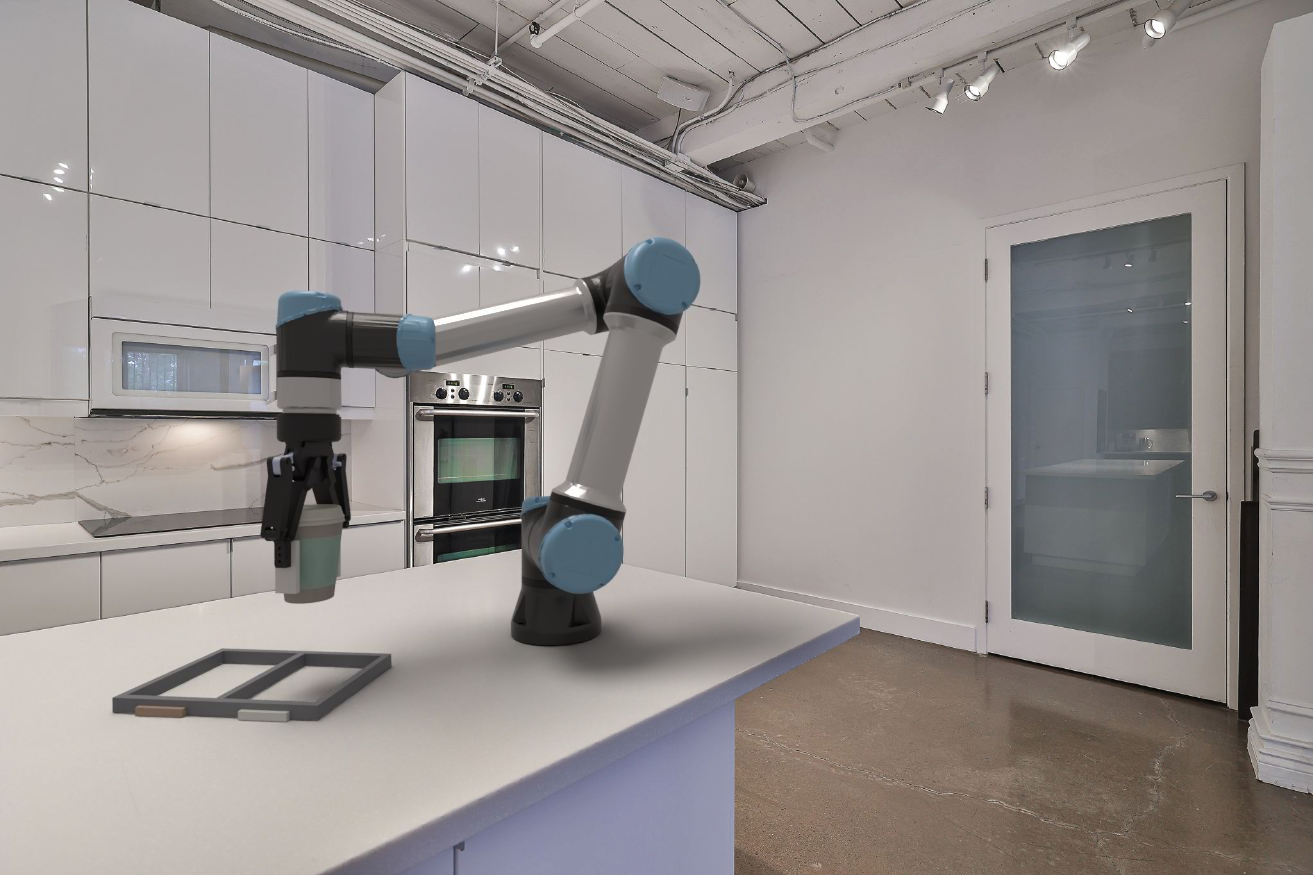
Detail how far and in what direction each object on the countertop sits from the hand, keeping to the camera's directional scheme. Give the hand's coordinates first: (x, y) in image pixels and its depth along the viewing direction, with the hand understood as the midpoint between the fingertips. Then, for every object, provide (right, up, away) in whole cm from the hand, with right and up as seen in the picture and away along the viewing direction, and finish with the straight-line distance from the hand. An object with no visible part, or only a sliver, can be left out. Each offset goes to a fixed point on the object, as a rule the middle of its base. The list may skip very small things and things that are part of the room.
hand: (309, 584), depth 87 cm
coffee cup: (0, -2, 0) cm, 2 cm away
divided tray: (-6, -14, +1) cm, 15 cm away
